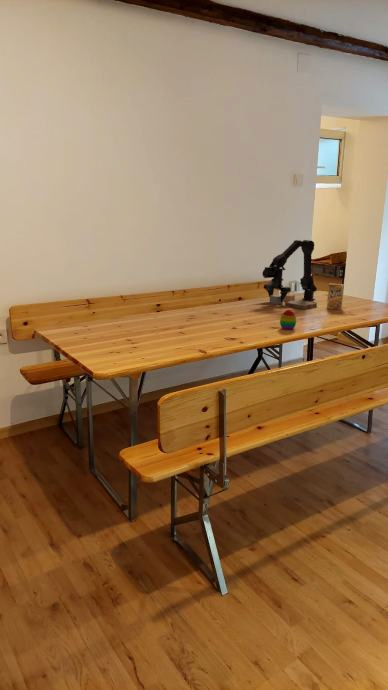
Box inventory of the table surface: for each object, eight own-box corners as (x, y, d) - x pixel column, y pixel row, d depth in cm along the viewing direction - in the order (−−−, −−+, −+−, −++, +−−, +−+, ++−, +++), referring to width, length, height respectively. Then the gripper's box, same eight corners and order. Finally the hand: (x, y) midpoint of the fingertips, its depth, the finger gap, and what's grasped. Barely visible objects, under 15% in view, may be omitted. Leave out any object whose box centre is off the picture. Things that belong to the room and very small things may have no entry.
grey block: (275, 302, 335) (276, 294, 334) (282, 303, 331) (283, 295, 329) (269, 303, 331) (269, 295, 330) (276, 304, 327) (276, 296, 326)
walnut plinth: (299, 303, 330) (299, 299, 330) (316, 307, 320) (316, 303, 319) (284, 306, 322) (285, 302, 321) (302, 309, 311) (302, 305, 311)
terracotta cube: (288, 300, 342) (289, 294, 341) (294, 301, 339) (294, 295, 338) (283, 300, 339) (284, 295, 338) (289, 302, 336) (290, 296, 334)
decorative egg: (276, 327, 267) (277, 308, 264) (289, 326, 270) (291, 307, 268) (285, 331, 260) (286, 312, 257) (298, 329, 263) (300, 310, 260)
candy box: (326, 308, 316) (328, 284, 312) (327, 307, 320) (329, 283, 316) (341, 309, 314) (343, 285, 309) (341, 308, 317) (344, 284, 313)
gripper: (258, 276, 328) (257, 300, 333) (280, 280, 314) (278, 304, 319) (270, 275, 335) (268, 298, 339) (292, 278, 321) (290, 302, 326)
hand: (276, 301), depth 331 cm, fingers open, 9 cm apart
